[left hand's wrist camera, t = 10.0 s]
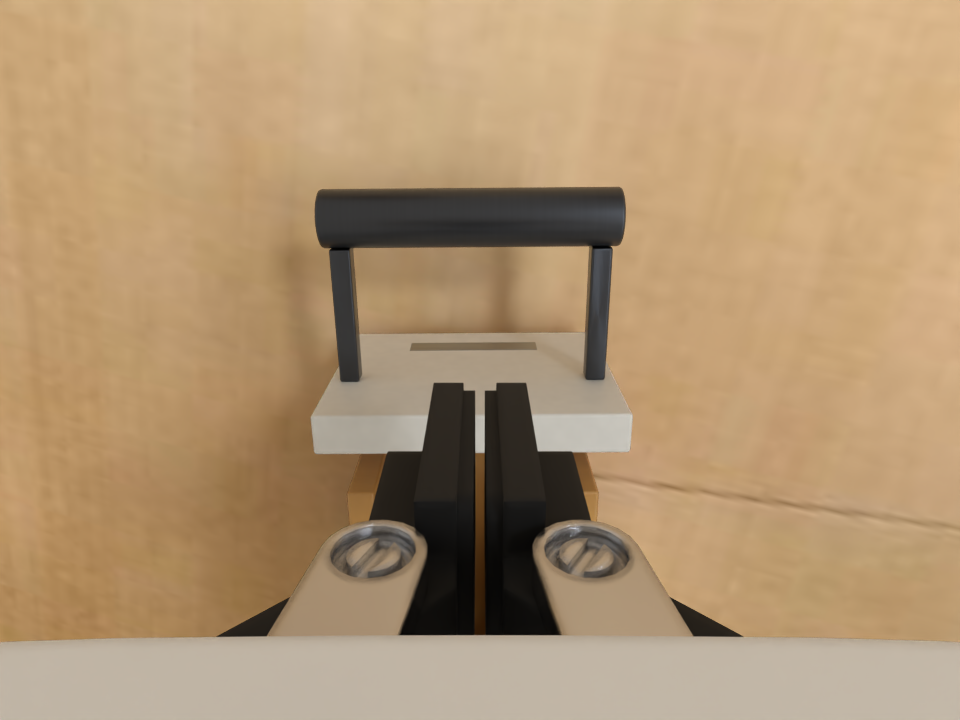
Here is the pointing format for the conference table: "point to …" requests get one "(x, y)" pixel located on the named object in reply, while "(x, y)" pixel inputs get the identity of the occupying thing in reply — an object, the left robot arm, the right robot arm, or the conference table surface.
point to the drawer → (469, 335)
